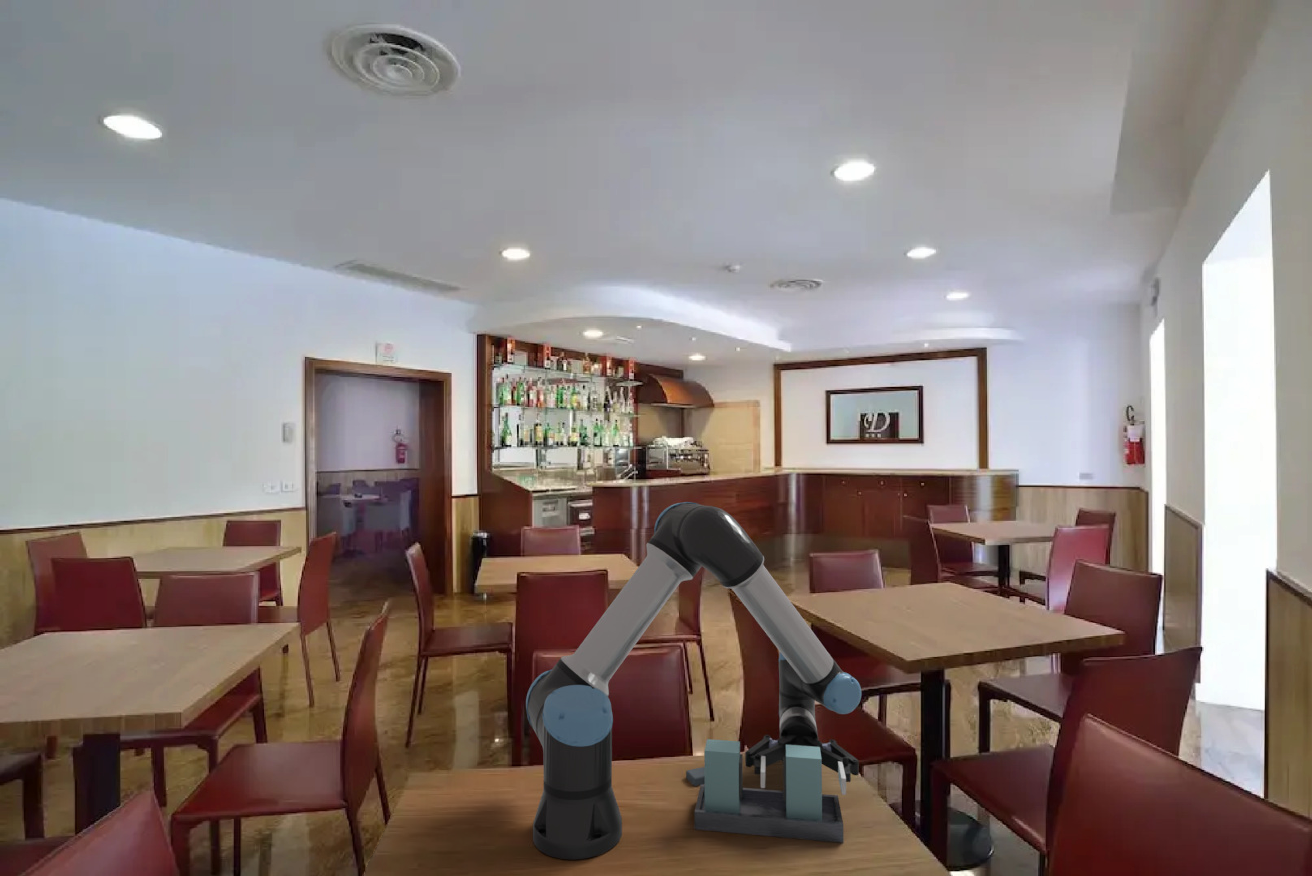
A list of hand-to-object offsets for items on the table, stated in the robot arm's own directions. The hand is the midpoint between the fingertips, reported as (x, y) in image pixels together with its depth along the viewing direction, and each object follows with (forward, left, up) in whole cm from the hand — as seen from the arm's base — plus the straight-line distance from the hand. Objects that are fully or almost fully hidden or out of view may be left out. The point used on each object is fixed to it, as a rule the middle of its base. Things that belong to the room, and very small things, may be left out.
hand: (802, 783), depth 117 cm
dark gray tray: (-6, +3, -8) cm, 11 cm away
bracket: (-17, +18, -9) cm, 26 cm away
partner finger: (-14, +3, -7) cm, 16 cm away
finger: (0, +3, -7) cm, 8 cm away
